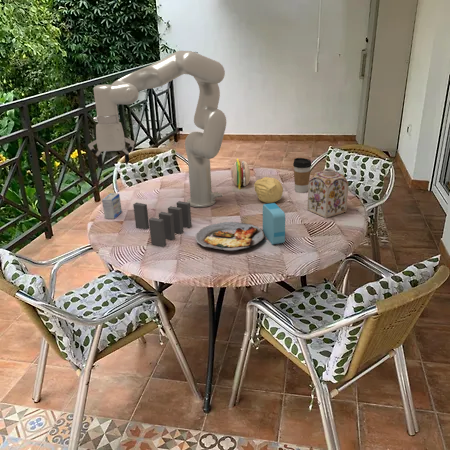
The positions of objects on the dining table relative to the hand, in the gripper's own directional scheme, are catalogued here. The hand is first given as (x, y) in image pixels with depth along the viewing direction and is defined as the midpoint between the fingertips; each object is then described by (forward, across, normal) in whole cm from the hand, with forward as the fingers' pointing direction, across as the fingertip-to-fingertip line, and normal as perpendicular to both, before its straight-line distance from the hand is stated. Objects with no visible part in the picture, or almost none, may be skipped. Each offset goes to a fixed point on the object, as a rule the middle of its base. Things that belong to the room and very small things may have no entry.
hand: (114, 164), depth 173 cm
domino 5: (+25, +25, -8) cm, 36 cm away
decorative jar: (+25, +84, -4) cm, 88 cm away
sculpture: (+25, +64, +13) cm, 70 cm away
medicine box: (+25, -4, +10) cm, 27 cm away
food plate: (+25, +41, -24) cm, 54 cm away
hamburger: (+25, +55, +37) cm, 71 cm away
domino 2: (+25, +15, -23) cm, 37 cm away
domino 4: (+25, +22, -13) cm, 36 cm away
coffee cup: (+25, +82, +22) cm, 88 cm away
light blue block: (+25, +57, -26) cm, 67 cm away
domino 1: (+25, +8, -6) cm, 27 cm away
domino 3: (+25, +18, -18) cm, 36 cm away
